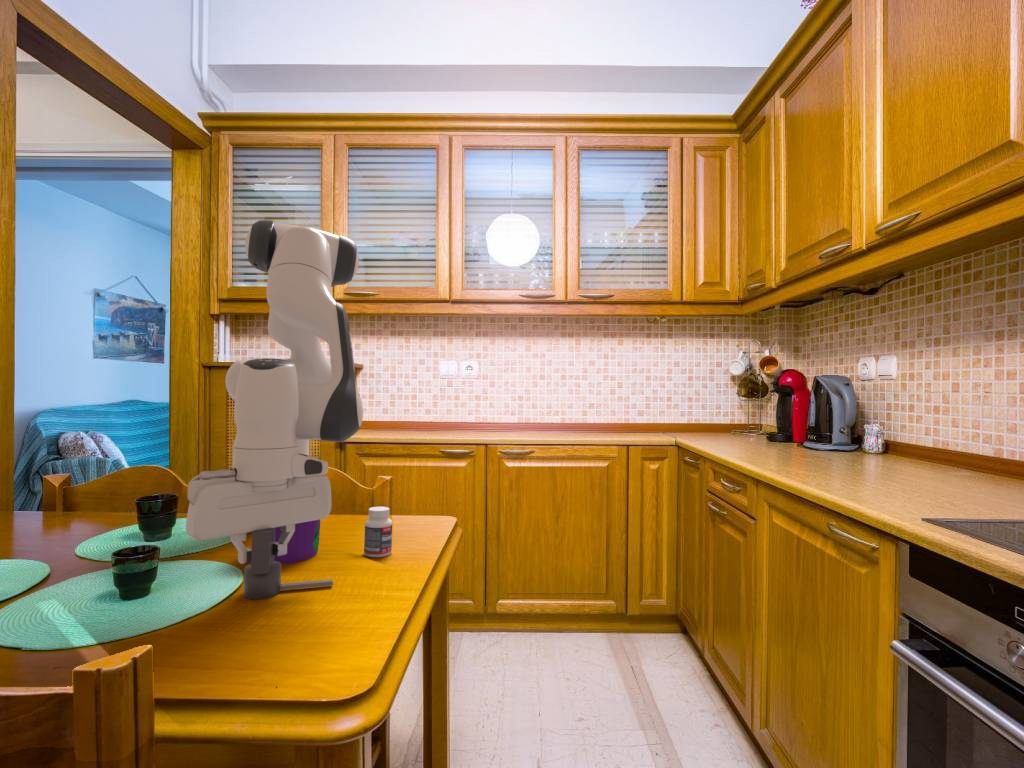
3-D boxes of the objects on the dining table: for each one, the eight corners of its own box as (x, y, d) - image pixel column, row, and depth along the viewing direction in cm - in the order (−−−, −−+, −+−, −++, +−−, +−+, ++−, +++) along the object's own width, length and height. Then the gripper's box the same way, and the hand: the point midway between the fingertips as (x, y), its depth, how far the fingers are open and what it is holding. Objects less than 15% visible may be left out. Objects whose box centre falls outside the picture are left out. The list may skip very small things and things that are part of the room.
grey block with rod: (240, 603, 74) (241, 533, 74) (247, 585, 81) (249, 521, 81) (332, 594, 78) (334, 527, 78) (332, 578, 85) (334, 516, 85)
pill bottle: (384, 559, 99) (385, 512, 100) (359, 556, 101) (360, 510, 101) (395, 550, 105) (397, 506, 105) (371, 548, 106) (372, 504, 106)
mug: (314, 573, 92) (315, 516, 92) (244, 576, 90) (246, 518, 90) (327, 544, 109) (328, 496, 109) (268, 546, 107) (270, 497, 107)
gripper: (196, 475, 68) (193, 581, 68) (337, 462, 84) (335, 548, 84) (180, 470, 73) (176, 570, 72) (317, 458, 88) (315, 540, 88)
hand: (263, 558), depth 78 cm, fingers closed on grey block with rod, 4 cm apart
